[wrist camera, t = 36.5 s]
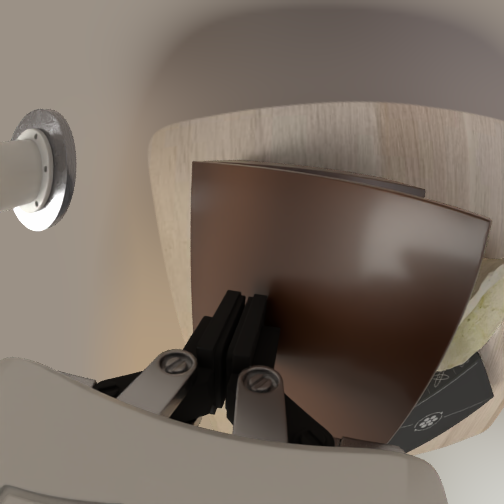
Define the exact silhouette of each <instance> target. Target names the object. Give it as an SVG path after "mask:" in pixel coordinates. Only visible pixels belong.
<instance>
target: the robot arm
mask: <svg viewBox="0 0 504 504" xmlns="http://www.w3.org/2000/svg"><path fill="white" fill-rule="evenodd" d="M53 169H54V165H53V155H52V149H51V146H50V143H49V141H48V139H47V136H46V135H45V134H44V133H43V132H42V131H41V130H39V129H36V128H35V129H27V130H25V131H24V132H22V133H21V134H20V136H19V137H18V138H17V140H16V141H7V142H0V212H4V211H7V210H10V209H13V208H16V207H19V208H20V209H21V210H22V211H23V212H25V213H28V214H31V213H35V212H38V211H39V210H41V209H42V208H43V207H44V205H45V204H46V202H47V200H48V198H49V195H50V192H51V188H52V183H53ZM245 299H246V297H245V296H244V295H241V292H240V291H233V290H227V292H226V294H225V296H224V297H223V299H222V301H221V303H220V305H219V306H218V308H217V310H216V312H215V313H214V315H213V317H210V316H204V317H203V318H202V319H201V321H200V323H199V324H198V326H197V327H196V329H195V331H194V332H193V334H192V336H191V337H190V339H189V340H188V342H187V344H186V345H185V347H184V349H183V350H181V349H172V350H167V351H165V352H162V353H161V354H160V355H158V357H156V359H154V361H153V362H152V363H151V364H150V365H149V366H148V367H147V368H146V369H145V370H144V371H141V372H137V373H133V374H129V375H125V376H120V377H116V378H112V379H107V380H104V381H101V382H99V383H97V382H96V380H93V379H88V378H84V377H80V376H76V375H72V374H68V373H64V372H61V371H56V370H54V369H52V368H50V367H48V366H45V365H43V364H41V363H38V362H35V361H31V360H28V359H23V358H14V357H12V358H5V359H3V360H0V504H448V503H447V498H446V494H445V491H444V488H443V485H442V482H441V479H440V477H439V475H438V473H437V472H436V470H435V469H434V468H433V467H432V465H431V464H429V463H428V462H426V461H425V460H422V459H420V458H417V457H415V456H412V455H408V454H406V453H405V452H404V450H403V449H401V448H400V447H399V446H395V445H392V444H384V443H378V442H371V441H365V440H360V439H354V438H349V437H344V436H342V438H341V439H340V438H335V437H333V436H332V435H331V434H330V432H329V431H328V430H326V429H325V428H324V427H323V426H322V425H320V424H319V423H318V422H317V421H316V420H314V419H313V418H312V417H311V416H310V415H309V414H307V413H306V412H305V411H304V410H303V409H302V408H301V407H299V406H298V405H297V404H296V403H295V402H294V401H293V400H292V399H290V398H289V397H288V396H287V395H286V394H285V393H284V384H283V379H282V376H281V375H280V374H279V372H277V371H276V370H275V369H274V366H275V360H276V354H277V348H278V342H279V335H280V329H281V328H278V327H271V326H264V324H265V315H266V306H267V295H260V294H254V296H253V297H251V296H249V297H248V300H247V302H246V305H245ZM225 398H226V403H225V408H226V410H227V418H228V420H229V421H230V422H231V423H232V425H233V434H227V433H223V432H218V431H214V430H210V429H205V428H201V427H198V426H199V424H200V422H201V419H202V416H204V415H207V414H214V415H215V412H216V409H217V408H222V407H223V404H224V401H225Z"/></svg>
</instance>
